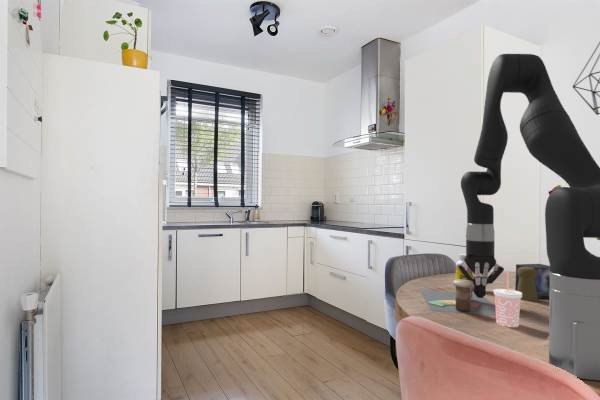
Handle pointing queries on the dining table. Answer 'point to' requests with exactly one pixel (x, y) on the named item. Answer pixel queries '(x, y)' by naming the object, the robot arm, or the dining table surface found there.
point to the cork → (527, 283)
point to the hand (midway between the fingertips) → (479, 297)
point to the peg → (463, 294)
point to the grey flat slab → (448, 303)
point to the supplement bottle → (458, 272)
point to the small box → (538, 279)
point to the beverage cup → (507, 306)
